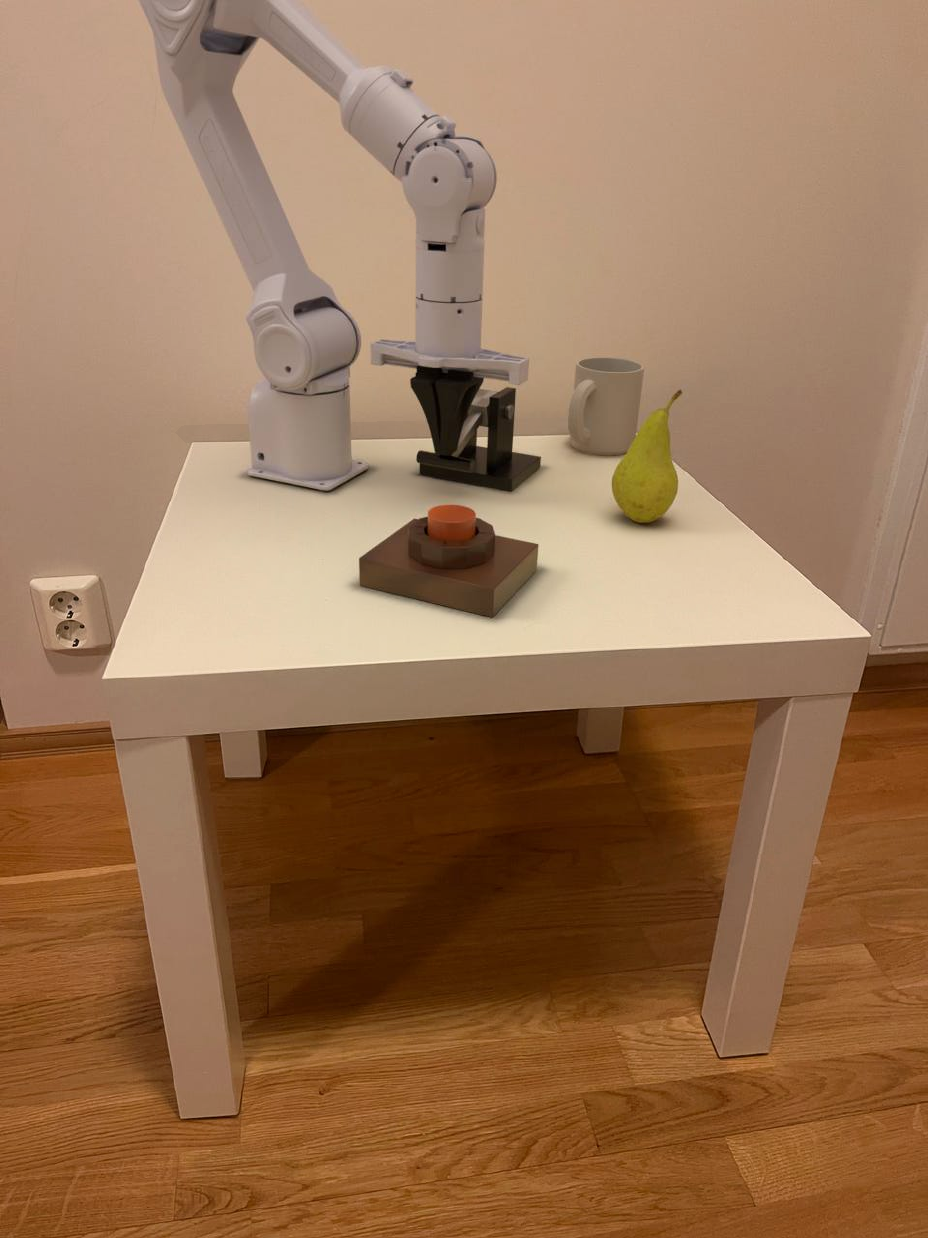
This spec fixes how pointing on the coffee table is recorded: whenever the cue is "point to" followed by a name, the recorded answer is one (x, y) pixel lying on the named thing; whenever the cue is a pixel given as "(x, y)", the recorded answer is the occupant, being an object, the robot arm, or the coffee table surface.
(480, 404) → the switch lever
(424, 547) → the button block
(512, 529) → the coffee table surface
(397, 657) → the coffee table surface
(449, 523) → the button
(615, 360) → the cup
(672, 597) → the coffee table surface
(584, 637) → the coffee table surface
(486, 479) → the switch bracket
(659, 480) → the fruit
